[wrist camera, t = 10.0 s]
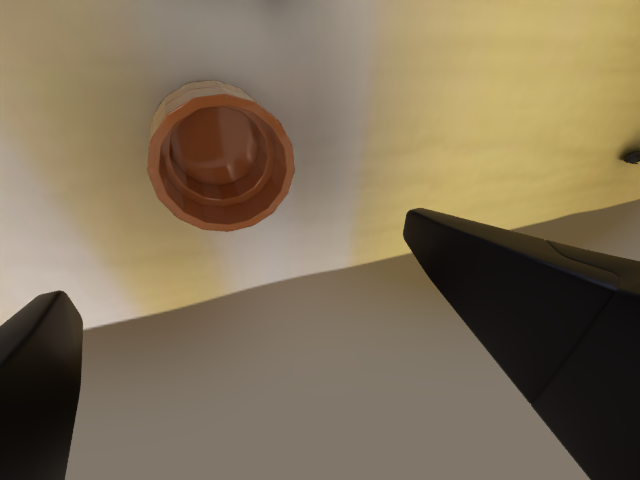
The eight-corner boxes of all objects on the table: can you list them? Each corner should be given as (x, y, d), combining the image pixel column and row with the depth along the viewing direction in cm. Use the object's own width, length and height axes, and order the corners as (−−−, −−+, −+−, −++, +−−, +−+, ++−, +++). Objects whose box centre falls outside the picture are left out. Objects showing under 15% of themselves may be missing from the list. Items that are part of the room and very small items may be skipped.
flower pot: (230, 54, 15) (248, 63, 12) (288, 158, 19) (314, 186, 15) (121, 122, 14) (109, 150, 11) (203, 213, 18) (211, 252, 15)
